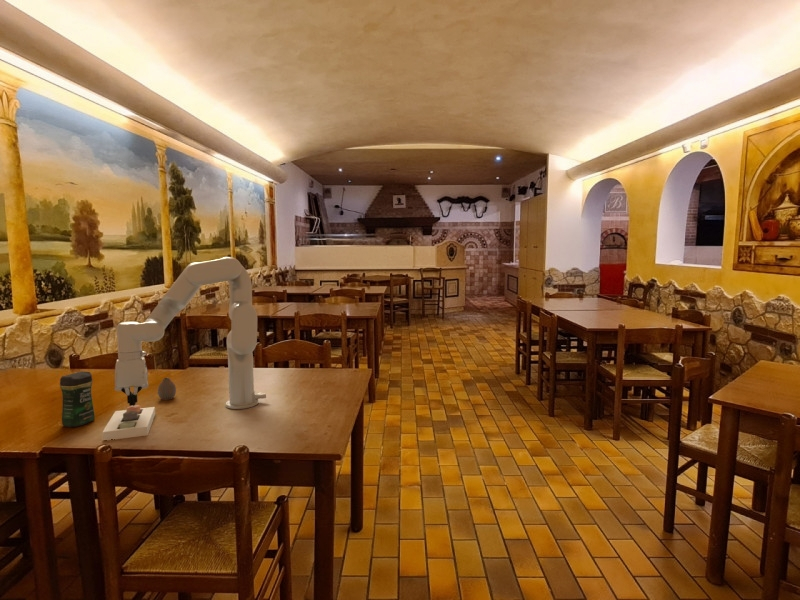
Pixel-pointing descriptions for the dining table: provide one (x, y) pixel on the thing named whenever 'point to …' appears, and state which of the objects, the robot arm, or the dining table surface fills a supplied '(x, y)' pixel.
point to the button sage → (127, 424)
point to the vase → (166, 389)
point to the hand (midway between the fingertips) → (132, 404)
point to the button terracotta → (134, 408)
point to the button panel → (139, 430)
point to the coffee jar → (77, 399)
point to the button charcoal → (130, 416)
